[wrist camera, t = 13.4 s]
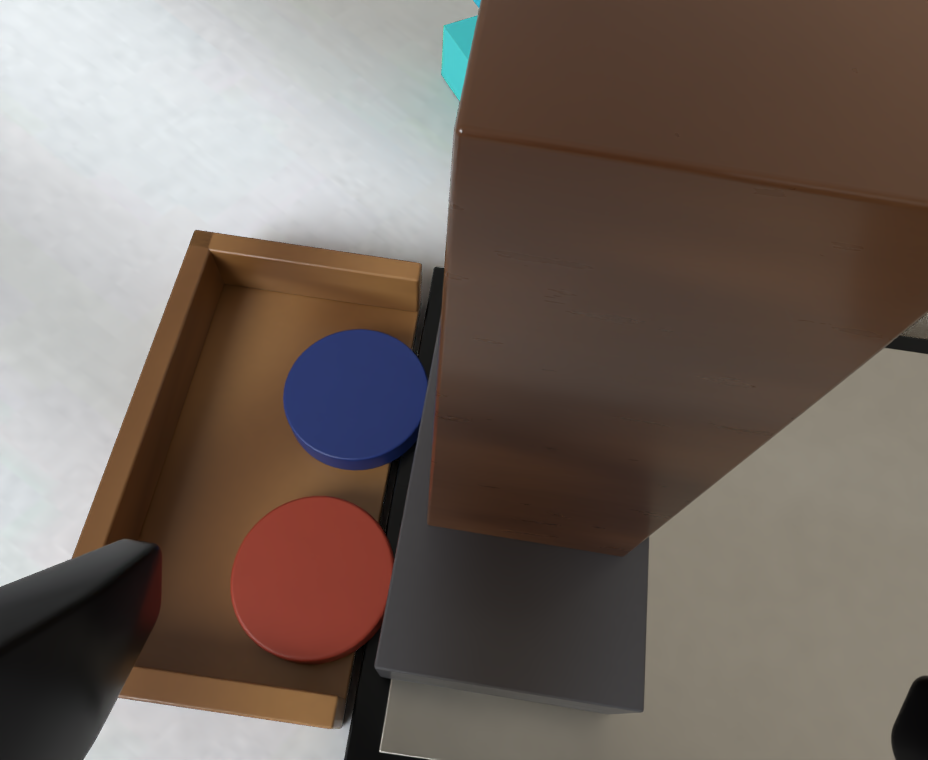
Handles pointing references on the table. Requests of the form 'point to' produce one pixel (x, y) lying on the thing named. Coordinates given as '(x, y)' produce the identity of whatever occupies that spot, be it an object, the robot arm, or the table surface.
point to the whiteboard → (735, 603)
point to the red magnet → (312, 580)
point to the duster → (641, 306)
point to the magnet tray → (236, 460)
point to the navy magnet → (356, 399)
